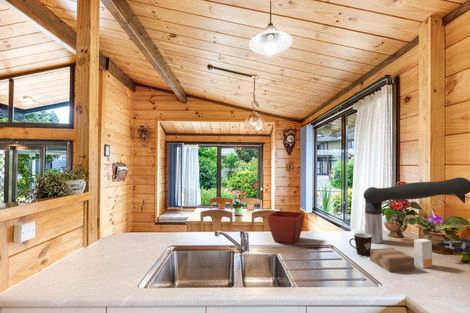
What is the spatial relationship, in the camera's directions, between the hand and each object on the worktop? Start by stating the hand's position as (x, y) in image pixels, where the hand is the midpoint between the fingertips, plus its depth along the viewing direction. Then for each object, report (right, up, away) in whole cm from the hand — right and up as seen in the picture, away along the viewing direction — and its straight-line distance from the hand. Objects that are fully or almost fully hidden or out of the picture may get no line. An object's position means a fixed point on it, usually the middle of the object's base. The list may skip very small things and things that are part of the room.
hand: (445, 247), depth 123 cm
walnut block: (-26, -9, 0) cm, 27 cm away
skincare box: (-11, -8, -1) cm, 14 cm away
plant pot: (-66, -11, +44) cm, 80 cm away
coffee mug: (-32, -9, +17) cm, 37 cm away
